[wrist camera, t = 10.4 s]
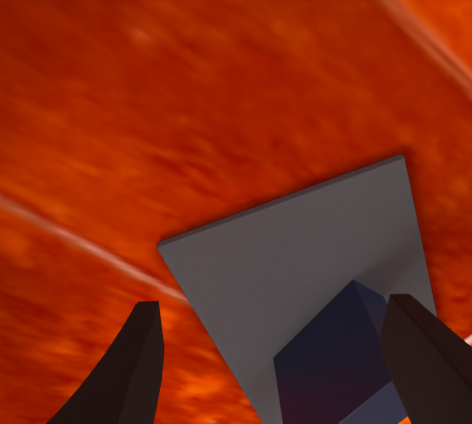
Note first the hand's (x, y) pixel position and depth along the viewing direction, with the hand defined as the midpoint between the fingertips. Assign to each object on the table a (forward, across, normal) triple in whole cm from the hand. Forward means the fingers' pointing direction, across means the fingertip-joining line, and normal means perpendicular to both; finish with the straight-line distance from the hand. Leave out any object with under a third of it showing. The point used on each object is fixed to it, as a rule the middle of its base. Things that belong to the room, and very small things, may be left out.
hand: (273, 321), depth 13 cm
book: (+10, -5, +10) cm, 15 cm away
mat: (+10, -5, +10) cm, 16 cm away
